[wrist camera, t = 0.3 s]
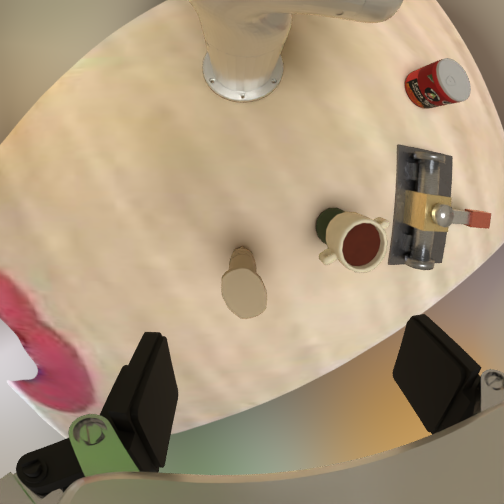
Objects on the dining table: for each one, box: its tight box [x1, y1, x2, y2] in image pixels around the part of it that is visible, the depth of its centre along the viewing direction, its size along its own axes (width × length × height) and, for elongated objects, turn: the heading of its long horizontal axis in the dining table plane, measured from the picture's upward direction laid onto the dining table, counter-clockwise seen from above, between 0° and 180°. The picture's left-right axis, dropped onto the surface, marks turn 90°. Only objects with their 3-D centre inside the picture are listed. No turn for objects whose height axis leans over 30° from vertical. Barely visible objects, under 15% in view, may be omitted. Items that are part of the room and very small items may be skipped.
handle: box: [221, 246, 267, 319], centre depth 39 cm, size 5×6×15 cm
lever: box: [432, 203, 491, 228], centre depth 38 cm, size 14×4×2 cm, turn 90°
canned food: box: [405, 58, 471, 108], centre depth 34 cm, size 8×8×11 cm
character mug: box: [316, 208, 390, 273], centre depth 40 cm, size 11×7×13 cm, turn 121°
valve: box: [388, 145, 452, 270], centre depth 42 cm, size 22×14×7 cm, turn 0°
